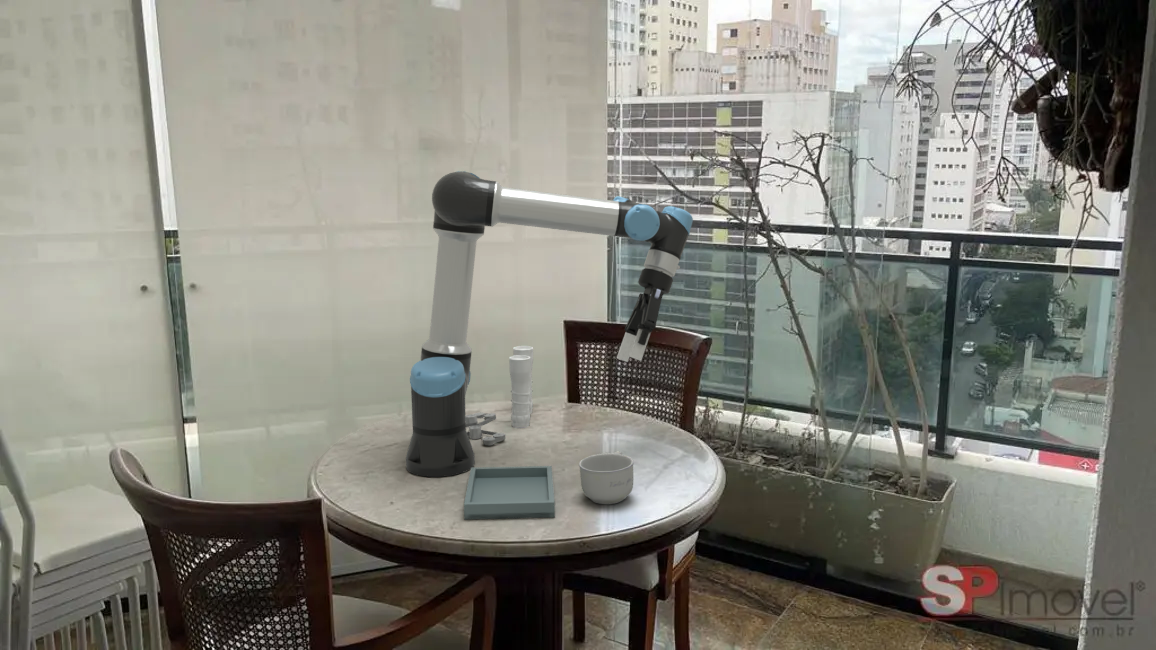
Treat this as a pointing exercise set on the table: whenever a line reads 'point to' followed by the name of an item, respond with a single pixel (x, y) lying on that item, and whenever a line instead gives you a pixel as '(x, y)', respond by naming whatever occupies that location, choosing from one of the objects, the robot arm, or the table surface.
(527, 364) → the binoculars
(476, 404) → the table surface
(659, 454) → the table surface
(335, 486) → the table surface
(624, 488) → the teacup
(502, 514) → the tray
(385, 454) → the table surface
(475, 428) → the pulley system
